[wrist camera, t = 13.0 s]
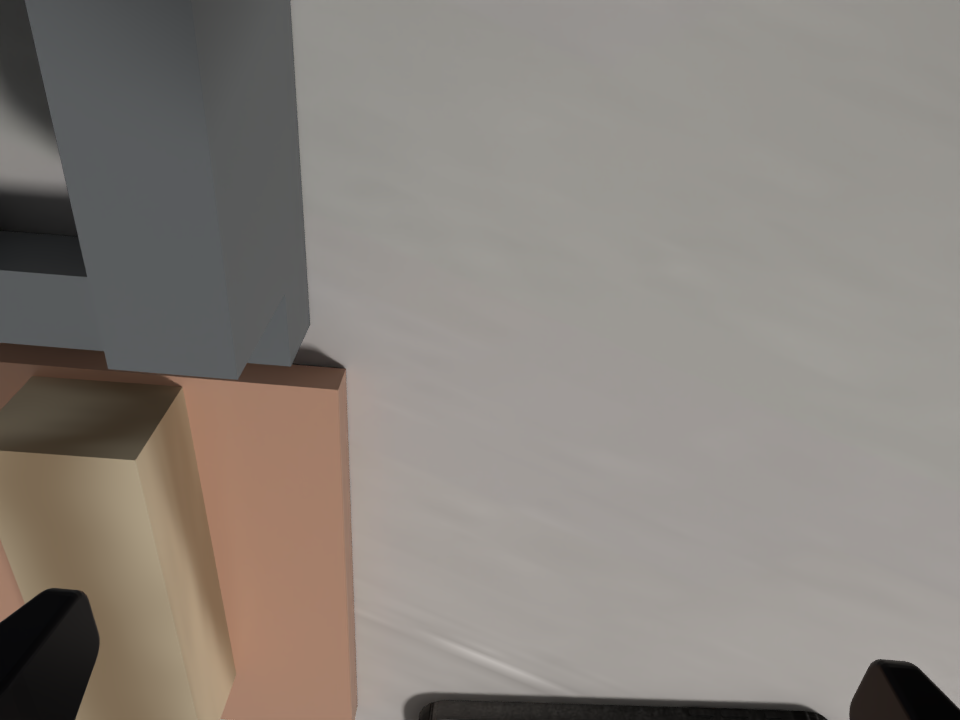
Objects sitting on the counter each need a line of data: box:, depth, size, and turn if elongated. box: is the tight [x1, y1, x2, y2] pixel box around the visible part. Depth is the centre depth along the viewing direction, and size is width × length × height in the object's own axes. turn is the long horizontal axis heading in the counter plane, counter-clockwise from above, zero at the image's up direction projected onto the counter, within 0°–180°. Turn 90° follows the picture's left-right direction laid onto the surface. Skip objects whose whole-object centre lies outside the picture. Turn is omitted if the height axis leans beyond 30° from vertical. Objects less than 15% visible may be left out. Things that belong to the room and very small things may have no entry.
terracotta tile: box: [0, 343, 358, 720], centre depth 26 cm, size 12×15×1 cm
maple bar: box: [0, 376, 236, 720], centre depth 23 cm, size 4×12×3 cm, turn 177°
